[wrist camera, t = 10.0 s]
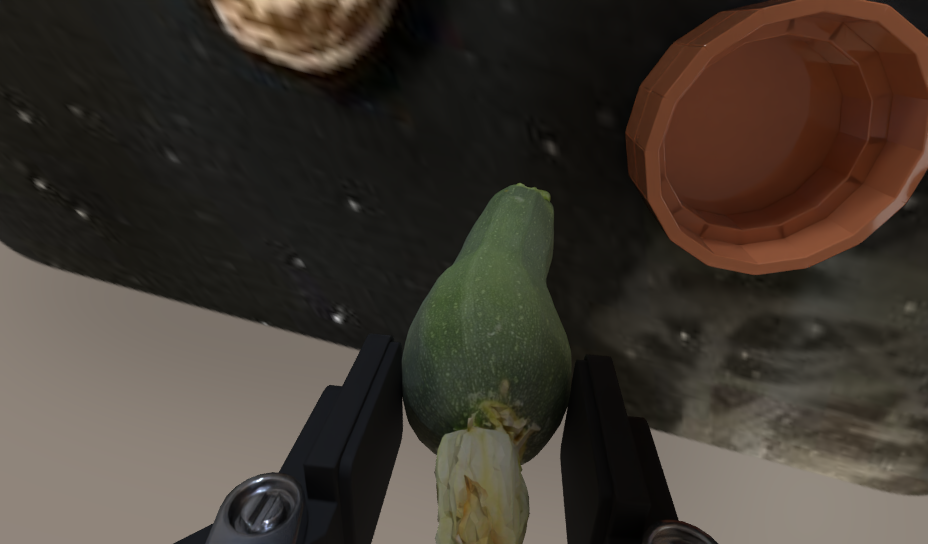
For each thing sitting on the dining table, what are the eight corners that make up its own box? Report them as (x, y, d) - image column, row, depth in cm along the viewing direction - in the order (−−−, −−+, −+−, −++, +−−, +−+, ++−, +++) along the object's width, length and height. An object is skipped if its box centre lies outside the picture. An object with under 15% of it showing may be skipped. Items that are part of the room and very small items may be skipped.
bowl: (580, 160, 26) (591, 186, 22) (741, -53, 22) (798, -74, 17) (738, 269, 28) (779, 315, 24) (920, 95, 23) (1014, 110, 19)
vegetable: (526, 259, 26) (503, 758, 8) (452, 222, 26) (258, 657, 8) (571, 187, 24) (670, 633, 6) (492, 145, 24) (354, 491, 6)
